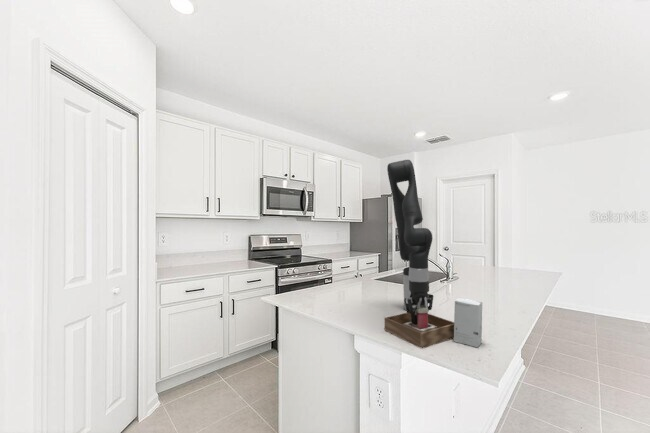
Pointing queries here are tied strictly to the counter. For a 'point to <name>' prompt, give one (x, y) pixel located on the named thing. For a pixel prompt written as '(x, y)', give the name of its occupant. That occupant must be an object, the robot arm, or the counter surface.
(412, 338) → the crate
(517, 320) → the counter surface
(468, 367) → the counter surface
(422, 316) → the small box
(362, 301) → the counter surface
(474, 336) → the skincare box
